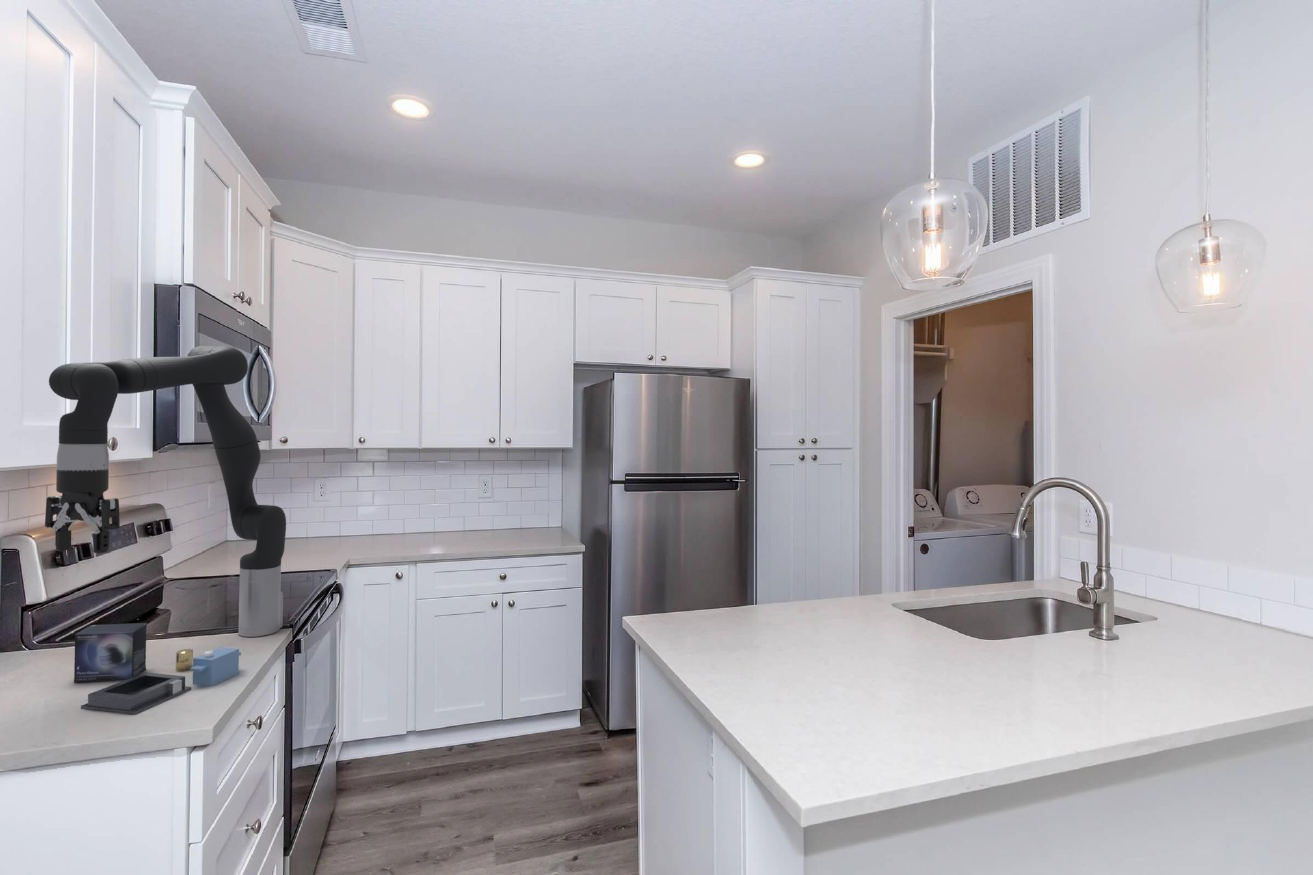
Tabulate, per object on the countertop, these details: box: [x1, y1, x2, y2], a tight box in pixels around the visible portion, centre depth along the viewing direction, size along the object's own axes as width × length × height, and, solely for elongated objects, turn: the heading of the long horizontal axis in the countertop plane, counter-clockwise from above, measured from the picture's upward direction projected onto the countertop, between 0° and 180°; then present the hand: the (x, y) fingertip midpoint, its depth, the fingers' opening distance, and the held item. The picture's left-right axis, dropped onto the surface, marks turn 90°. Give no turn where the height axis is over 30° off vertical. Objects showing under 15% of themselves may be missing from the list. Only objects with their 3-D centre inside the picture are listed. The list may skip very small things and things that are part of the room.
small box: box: [73, 622, 148, 684], centre depth 137 cm, size 11×6×10 cm, turn 105°
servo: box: [189, 646, 242, 687], centre depth 138 cm, size 10×4×6 cm, turn 170°
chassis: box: [80, 671, 192, 716], centre depth 127 cm, size 12×12×3 cm
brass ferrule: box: [175, 648, 194, 673], centre depth 143 cm, size 3×3×4 cm
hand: (81, 551), depth 124 cm, fingers open, 8 cm apart
